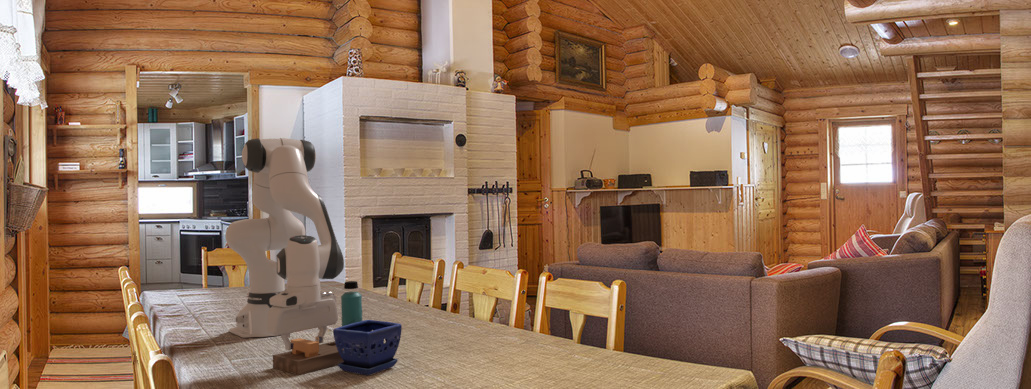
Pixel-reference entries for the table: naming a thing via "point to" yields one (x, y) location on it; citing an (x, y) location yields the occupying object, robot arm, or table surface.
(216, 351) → the table surface
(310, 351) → the tan two-pronged block
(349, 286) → the beverage bottle
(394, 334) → the flower pot
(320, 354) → the block with square holes
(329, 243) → the robot arm
